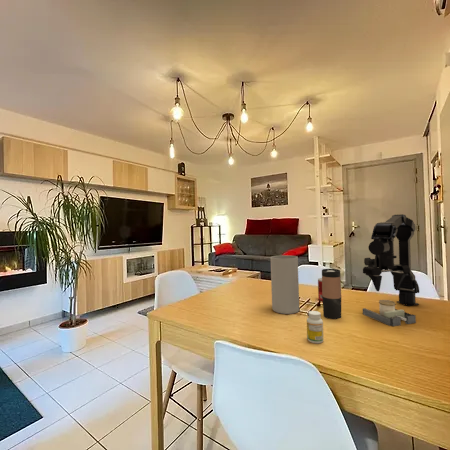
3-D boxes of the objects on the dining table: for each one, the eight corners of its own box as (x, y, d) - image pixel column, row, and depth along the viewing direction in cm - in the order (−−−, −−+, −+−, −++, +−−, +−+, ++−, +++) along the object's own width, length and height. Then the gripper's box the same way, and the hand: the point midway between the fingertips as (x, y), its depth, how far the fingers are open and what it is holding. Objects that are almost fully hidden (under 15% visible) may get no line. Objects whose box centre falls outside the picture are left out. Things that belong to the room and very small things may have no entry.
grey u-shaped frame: (385, 311, 116) (385, 304, 116) (417, 322, 102) (416, 315, 102) (362, 314, 114) (362, 307, 114) (391, 326, 99) (391, 318, 99)
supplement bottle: (320, 345, 86) (319, 316, 86) (304, 341, 90) (303, 313, 90) (325, 339, 90) (324, 312, 90) (310, 335, 94) (309, 309, 94)
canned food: (336, 302, 131) (335, 280, 131) (319, 302, 133) (319, 280, 132) (333, 298, 138) (332, 277, 138) (317, 298, 140) (316, 277, 140)
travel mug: (341, 314, 115) (339, 268, 115) (342, 320, 107) (341, 272, 107) (322, 312, 117) (321, 268, 117) (323, 318, 110) (321, 271, 110)
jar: (387, 314, 112) (386, 299, 112) (399, 319, 106) (398, 302, 106) (376, 316, 110) (375, 300, 111) (387, 321, 105) (387, 304, 105)
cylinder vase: (304, 309, 123) (302, 256, 123) (291, 316, 113) (289, 259, 113) (280, 304, 131) (279, 254, 131) (267, 310, 122) (265, 257, 122)
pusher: (401, 318, 107) (401, 309, 107) (414, 323, 101) (414, 313, 101) (384, 320, 105) (384, 311, 105) (396, 325, 99) (396, 316, 99)
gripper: (387, 250, 118) (388, 284, 118) (352, 252, 114) (353, 287, 114) (410, 252, 107) (411, 290, 107) (372, 254, 103) (374, 294, 103)
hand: (386, 290), depth 108 cm, fingers open, 9 cm apart
